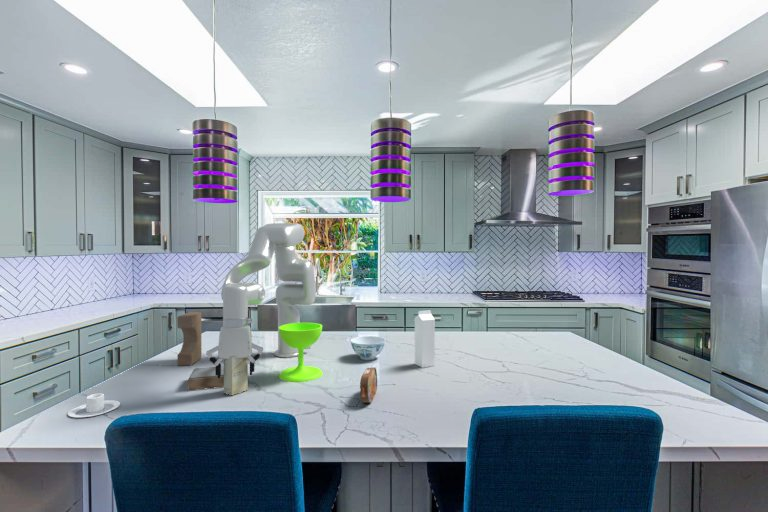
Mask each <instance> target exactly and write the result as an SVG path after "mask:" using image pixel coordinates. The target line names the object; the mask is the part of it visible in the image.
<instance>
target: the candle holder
mask: <svg viewBox="0 0 768 512" xmlns="http://www.w3.org/2000/svg"><path fill="white" fill-rule="evenodd" d="M105 405H112V407H111V408H110V409H108V410H105V411H103V412H100V411H102V410H103V409H104V408H105ZM120 406H121V402H120V401H118V400H114V399H113V400H112V399H111V400H110V399H109V400H107V399H106V400H105V394H104V393H102V392H101V393H93V394H90V395H89V394H88V395H87V396H86V398H85V403H83V404H82V405H79V406H77V407H75V408H72V409H71V410H69V411H68V413H67V415H68V417H71V418H76V419H77V418H78V419H79V418H87V417H89V418H90V417H94V416H95V417H96V416H99V415H103V414H106V413H108V412H112V411H113V410H116V409H117V408H119V407H120ZM82 409H85V410H86V413H95V414H90V415H89V414H87V415H78V414H77V412H79V411H81V410H82ZM96 412H99V413H96Z"/></svg>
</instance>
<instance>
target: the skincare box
mask: <svg viewBox="0 0 768 512" xmlns="http://www.w3.org/2000/svg"><path fill="white" fill-rule="evenodd" d="M248 360H249V359H248V358H237V357H229V359H223V366H224V387H223V394H224V393H226V394H225V395H228V394H229V395H228V396H231V395H233V396H235V395H234V394H236V395H238V394H237V393H239V394H241V393H240V392H242V393H244V392H243V391H245V392H246V390H247V391H248V390H249V389H248V388H249V387H248V378H249V377H248V370H249V368H248V367H249V366H248Z"/></svg>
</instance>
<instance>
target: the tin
mask: <svg viewBox="0 0 768 512" xmlns="http://www.w3.org/2000/svg"><path fill="white" fill-rule="evenodd" d="M377 372H378V371H377V369H376V367H367V368H366V369H365V370H364V372H363V374H362V375H361V378H360V382H359V390H360V401H361V402H362V403H363V404H364V403H365V404H367V403H368V404H371V403H372V402H373V400H374V398H375V396H376V394H377V389H378V373H377Z"/></svg>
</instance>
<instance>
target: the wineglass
mask: <svg viewBox="0 0 768 512" xmlns="http://www.w3.org/2000/svg"><path fill="white" fill-rule="evenodd" d="M322 331H323V325H322V324H321V323H316V322H300V323H291V324H285V325H282V326H280V327H279V334H280V336H281V338H282V340H283V341H284V342H285V343H286V344H287V345H289V346H290V347H293V348H297V349H298V356H297V358H298V360H297V364H298V365H297V366H292V367H289V368H285V369H284V370H282V371H281V372H280V373H279V375H278V379H279V378H280V380H281V379H282V380H281V381H283V380H284V382H287V381H290V382H289V383H304V381H305V382H310V381H309V380H311V381H314V379H315V380H317V379H319V378H321V377H322V376H323V371H322V370H321V368H319V367H316V366H310V365H307V366H306V365H305V364H304V349H303V348H307V347H309V346H310V347H312V345H314V344H315V343H316V342H317V341H318V340H319V339H320V338H321V335H322Z"/></svg>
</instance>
